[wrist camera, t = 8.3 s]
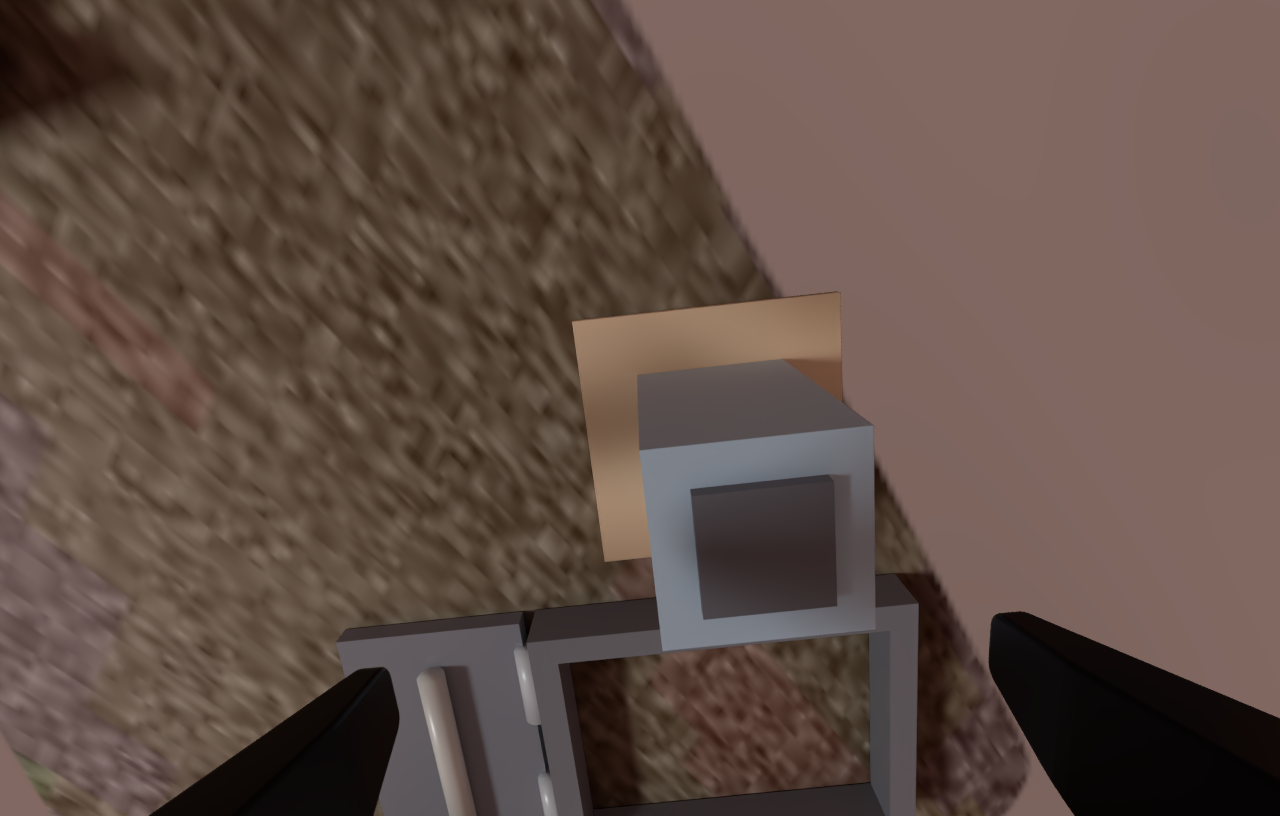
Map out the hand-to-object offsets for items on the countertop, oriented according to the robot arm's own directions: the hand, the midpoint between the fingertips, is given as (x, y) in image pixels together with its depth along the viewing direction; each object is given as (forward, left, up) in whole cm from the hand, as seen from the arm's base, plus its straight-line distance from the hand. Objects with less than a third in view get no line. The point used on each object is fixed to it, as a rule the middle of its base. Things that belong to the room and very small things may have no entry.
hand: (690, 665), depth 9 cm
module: (-1, -2, -12) cm, 13 cm away
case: (-13, +2, -13) cm, 18 cm away
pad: (-1, -2, -13) cm, 13 cm away
